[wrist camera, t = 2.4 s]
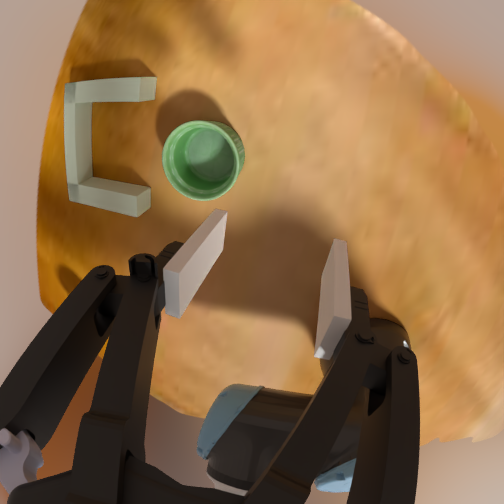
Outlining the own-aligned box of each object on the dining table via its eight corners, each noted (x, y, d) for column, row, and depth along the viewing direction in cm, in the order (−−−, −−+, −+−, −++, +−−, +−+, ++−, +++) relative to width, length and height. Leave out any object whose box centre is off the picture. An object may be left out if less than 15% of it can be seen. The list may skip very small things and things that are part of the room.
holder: (156, 77, 29) (140, 77, 26) (150, 207, 39) (137, 217, 36) (81, 81, 30) (65, 83, 28) (83, 192, 40) (69, 200, 37)
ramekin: (188, 108, 30) (170, 111, 27) (260, 130, 30) (250, 135, 27) (172, 174, 35) (155, 185, 32) (237, 199, 35) (225, 212, 31)
